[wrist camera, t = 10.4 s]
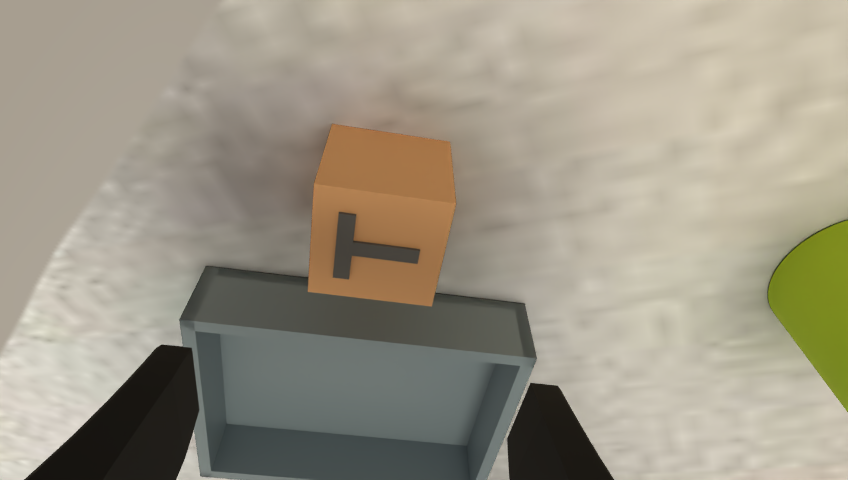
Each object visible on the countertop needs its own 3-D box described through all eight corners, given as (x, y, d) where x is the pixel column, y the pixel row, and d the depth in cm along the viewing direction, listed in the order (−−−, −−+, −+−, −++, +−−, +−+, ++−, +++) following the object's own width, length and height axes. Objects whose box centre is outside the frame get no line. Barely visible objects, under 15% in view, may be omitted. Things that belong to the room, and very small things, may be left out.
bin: (524, 303, 23) (536, 358, 21) (473, 443, 29) (478, 499, 27) (206, 266, 22) (179, 319, 19) (219, 420, 28) (200, 476, 25)
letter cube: (449, 140, 19) (456, 205, 16) (429, 234, 21) (431, 308, 18) (332, 123, 18) (313, 185, 15) (325, 220, 21) (306, 293, 17)
